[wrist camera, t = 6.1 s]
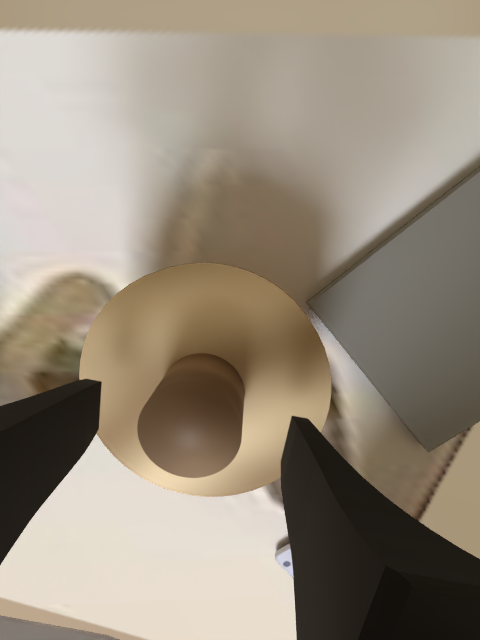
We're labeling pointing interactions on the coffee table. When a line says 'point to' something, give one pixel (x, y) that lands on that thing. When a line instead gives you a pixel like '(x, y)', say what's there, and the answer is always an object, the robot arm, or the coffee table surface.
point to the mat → (418, 316)
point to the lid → (204, 377)
